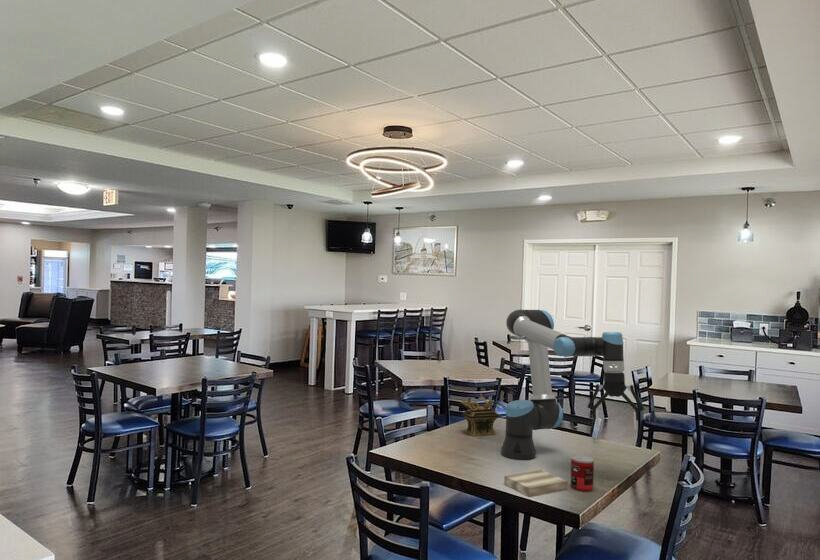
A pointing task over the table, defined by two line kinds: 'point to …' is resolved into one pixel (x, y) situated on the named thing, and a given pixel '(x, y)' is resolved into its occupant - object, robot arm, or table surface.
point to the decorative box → (480, 418)
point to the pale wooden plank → (535, 483)
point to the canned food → (582, 473)
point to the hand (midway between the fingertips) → (616, 428)
